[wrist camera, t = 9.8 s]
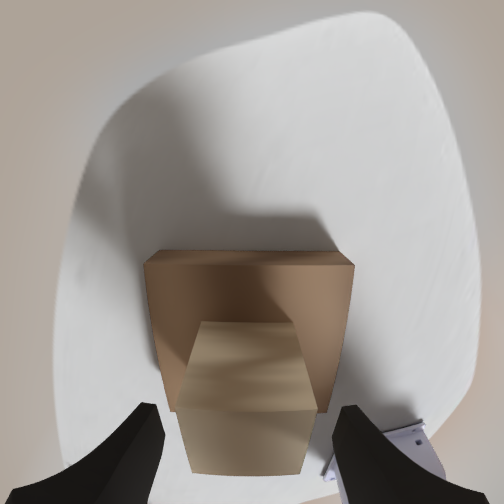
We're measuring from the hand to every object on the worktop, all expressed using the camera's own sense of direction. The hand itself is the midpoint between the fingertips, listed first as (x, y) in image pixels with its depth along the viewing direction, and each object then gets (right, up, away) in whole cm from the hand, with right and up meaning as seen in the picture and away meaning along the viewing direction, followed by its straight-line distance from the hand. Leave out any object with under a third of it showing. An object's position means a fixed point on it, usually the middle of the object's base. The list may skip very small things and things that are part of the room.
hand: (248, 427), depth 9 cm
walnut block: (0, +2, +8) cm, 8 cm away
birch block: (0, +1, +5) cm, 5 cm away
